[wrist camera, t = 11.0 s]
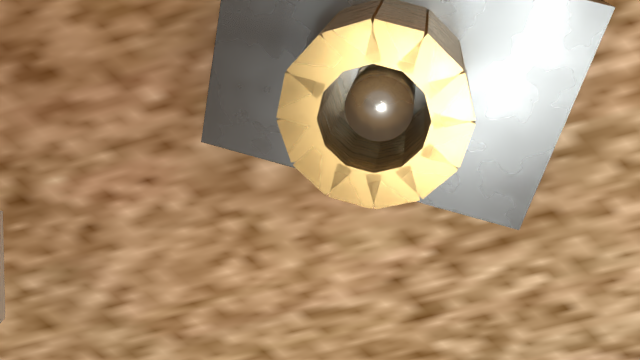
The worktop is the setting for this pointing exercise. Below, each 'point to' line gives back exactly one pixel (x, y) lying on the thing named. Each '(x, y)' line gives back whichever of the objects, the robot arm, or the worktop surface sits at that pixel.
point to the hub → (329, 110)
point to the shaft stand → (407, 98)
